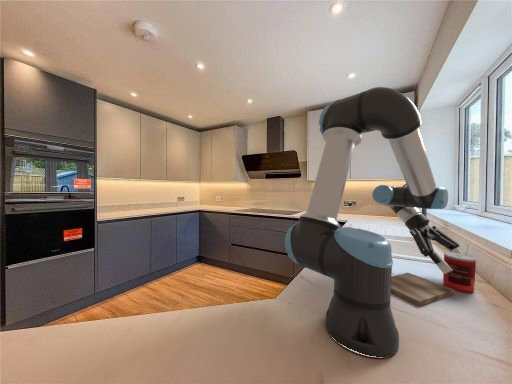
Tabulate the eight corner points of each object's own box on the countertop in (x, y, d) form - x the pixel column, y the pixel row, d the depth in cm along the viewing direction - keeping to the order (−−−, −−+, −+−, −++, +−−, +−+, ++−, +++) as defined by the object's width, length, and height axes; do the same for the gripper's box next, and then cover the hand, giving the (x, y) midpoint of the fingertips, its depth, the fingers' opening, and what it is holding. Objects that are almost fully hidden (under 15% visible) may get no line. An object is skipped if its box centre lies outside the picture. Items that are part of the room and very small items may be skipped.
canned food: (460, 282, 75) (461, 252, 74) (482, 294, 67) (483, 260, 66) (436, 281, 75) (438, 251, 75) (455, 292, 67) (457, 259, 67)
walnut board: (420, 306, 59) (420, 301, 59) (374, 284, 72) (374, 280, 72) (454, 294, 66) (454, 289, 66) (407, 276, 79) (407, 272, 79)
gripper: (423, 222, 92) (467, 268, 79) (385, 225, 82) (428, 279, 69) (438, 211, 87) (487, 259, 74) (400, 214, 77) (449, 269, 64)
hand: (459, 269), depth 71 cm, fingers open, 13 cm apart
